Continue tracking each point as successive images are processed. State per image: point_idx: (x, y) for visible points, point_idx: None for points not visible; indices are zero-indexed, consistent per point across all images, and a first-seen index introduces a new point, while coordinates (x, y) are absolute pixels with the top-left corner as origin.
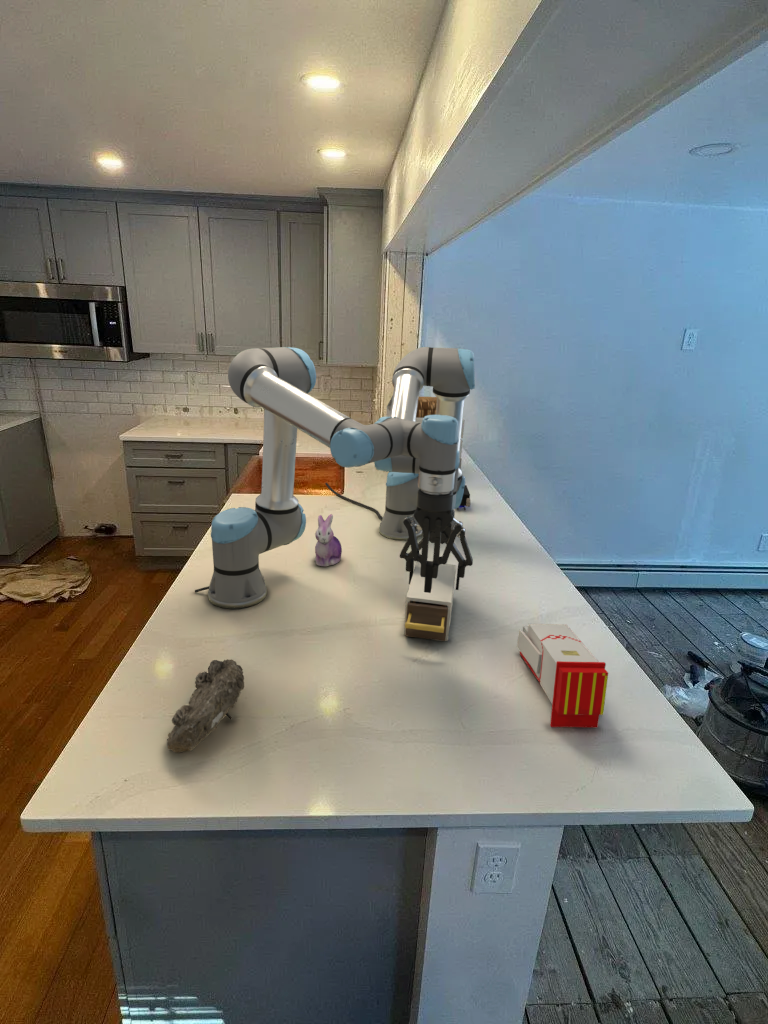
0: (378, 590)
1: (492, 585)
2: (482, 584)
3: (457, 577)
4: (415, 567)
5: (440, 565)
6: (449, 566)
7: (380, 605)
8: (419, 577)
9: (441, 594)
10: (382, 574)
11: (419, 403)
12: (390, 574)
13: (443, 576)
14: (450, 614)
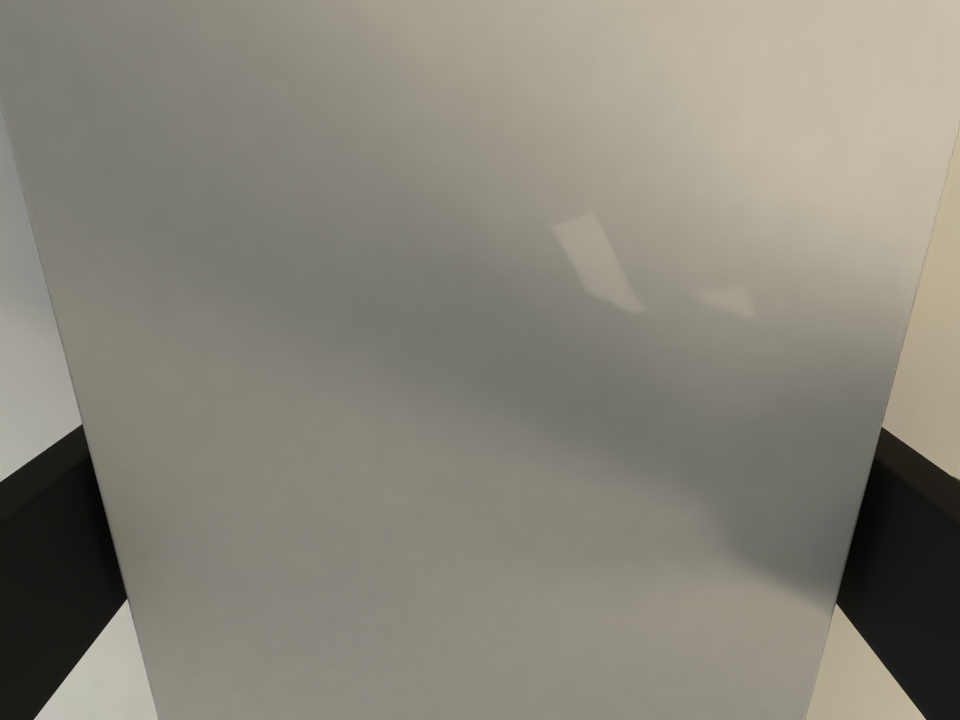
0: (940, 461)
1: (82, 710)
2: (153, 708)
3: (84, 449)
4: (836, 557)
5: (407, 708)
6: (260, 709)
7: (945, 212)
8: (788, 147)
9: None
10: (888, 688)
11: None
12: (826, 699)
13: (282, 329)
14: None
